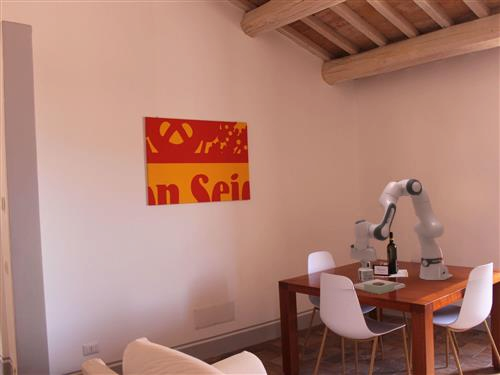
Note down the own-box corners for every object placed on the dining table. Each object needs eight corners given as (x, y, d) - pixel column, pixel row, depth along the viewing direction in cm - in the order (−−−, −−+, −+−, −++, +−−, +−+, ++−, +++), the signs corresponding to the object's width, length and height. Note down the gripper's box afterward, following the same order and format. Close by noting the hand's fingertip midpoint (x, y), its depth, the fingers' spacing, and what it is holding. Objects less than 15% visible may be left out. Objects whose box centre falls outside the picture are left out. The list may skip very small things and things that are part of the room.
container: (363, 281, 313) (362, 262, 314) (358, 279, 321) (357, 261, 321) (374, 280, 315) (372, 261, 315) (369, 278, 323) (367, 260, 323)
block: (378, 286, 288) (378, 281, 288) (384, 287, 284) (384, 283, 284) (372, 288, 285) (372, 283, 285) (378, 289, 281) (378, 284, 281)
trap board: (377, 282, 310) (376, 275, 310) (406, 287, 290) (406, 280, 290) (351, 288, 297) (350, 281, 297) (380, 294, 277) (379, 286, 277)
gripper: (378, 245, 288) (380, 267, 288) (354, 243, 305) (356, 264, 305) (371, 247, 284) (373, 269, 284) (347, 245, 302) (349, 266, 302)
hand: (364, 266), depth 295 cm, fingers closed
